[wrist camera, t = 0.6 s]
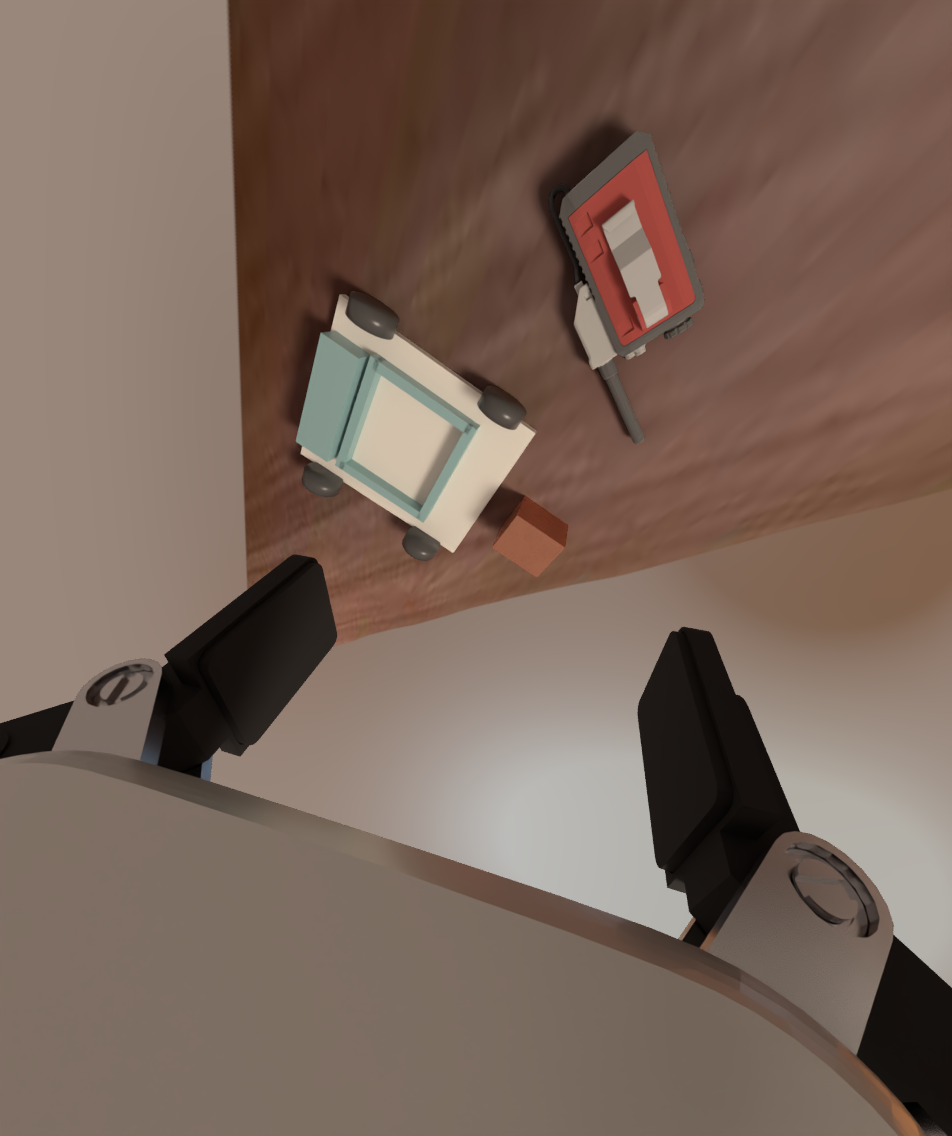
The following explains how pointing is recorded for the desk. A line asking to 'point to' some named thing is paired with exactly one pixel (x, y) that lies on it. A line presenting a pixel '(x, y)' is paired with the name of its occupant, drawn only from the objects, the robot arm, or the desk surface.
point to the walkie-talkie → (627, 261)
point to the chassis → (404, 428)
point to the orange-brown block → (531, 537)
